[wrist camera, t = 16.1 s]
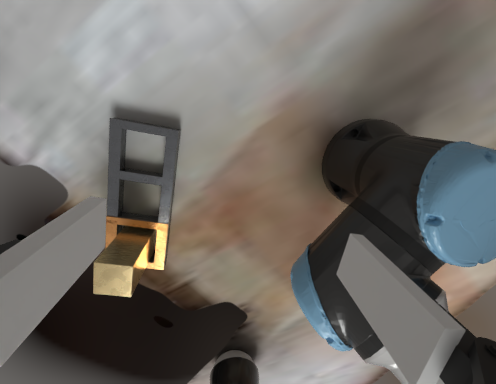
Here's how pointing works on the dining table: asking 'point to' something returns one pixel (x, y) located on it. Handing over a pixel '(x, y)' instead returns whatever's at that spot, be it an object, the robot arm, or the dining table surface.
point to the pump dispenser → (234, 369)
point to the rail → (120, 173)
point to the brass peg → (124, 261)
